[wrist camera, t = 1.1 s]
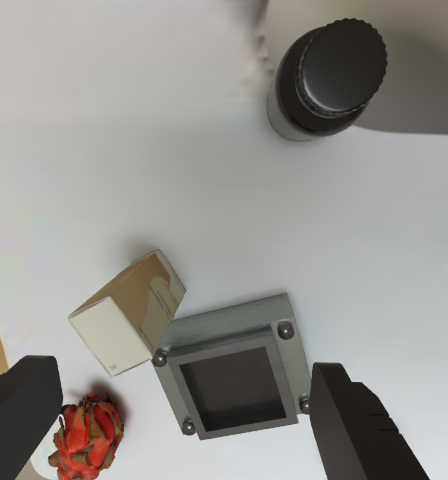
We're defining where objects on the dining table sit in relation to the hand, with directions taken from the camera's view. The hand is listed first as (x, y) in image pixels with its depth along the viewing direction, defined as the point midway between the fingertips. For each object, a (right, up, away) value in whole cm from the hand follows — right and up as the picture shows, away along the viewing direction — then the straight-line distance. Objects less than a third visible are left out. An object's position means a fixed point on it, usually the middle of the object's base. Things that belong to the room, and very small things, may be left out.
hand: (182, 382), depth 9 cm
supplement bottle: (+9, +17, +18) cm, 27 cm away
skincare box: (-7, 0, +24) cm, 25 cm away
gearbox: (+3, -9, +26) cm, 28 cm away
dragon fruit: (-16, -20, +31) cm, 40 cm away
